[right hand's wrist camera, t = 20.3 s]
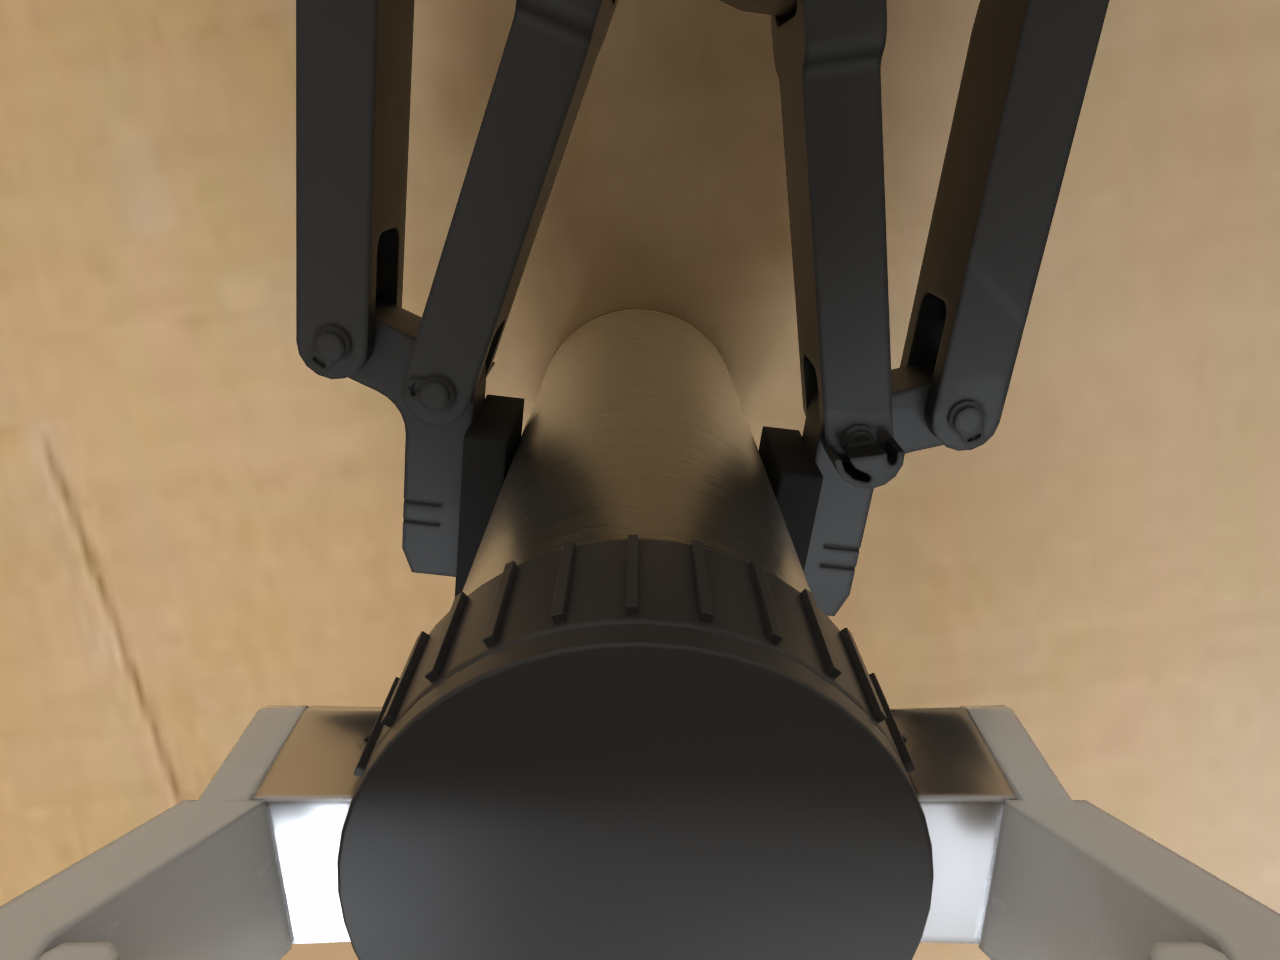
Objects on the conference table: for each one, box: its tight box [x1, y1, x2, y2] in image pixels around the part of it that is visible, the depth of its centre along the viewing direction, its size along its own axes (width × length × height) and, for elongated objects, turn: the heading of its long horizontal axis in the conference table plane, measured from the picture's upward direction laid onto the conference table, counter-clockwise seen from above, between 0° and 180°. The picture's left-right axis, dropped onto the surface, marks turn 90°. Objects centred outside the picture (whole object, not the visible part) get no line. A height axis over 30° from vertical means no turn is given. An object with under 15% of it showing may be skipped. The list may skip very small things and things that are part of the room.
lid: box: [337, 535, 934, 960], centre depth 9 cm, size 6×6×2 cm
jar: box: [462, 309, 811, 596], centre depth 16 cm, size 5×5×16 cm
